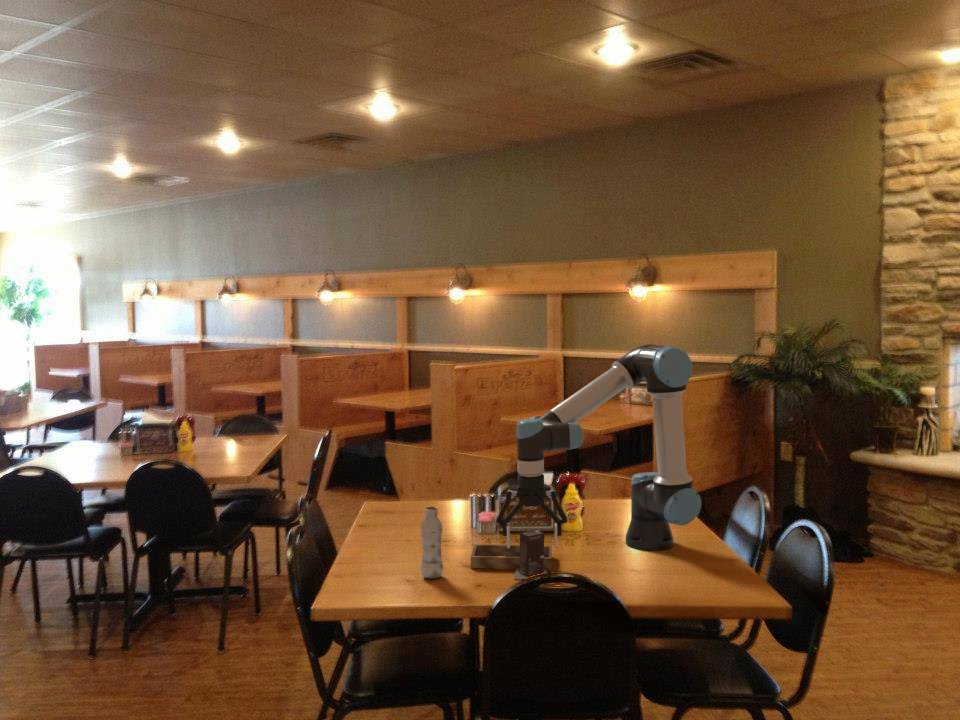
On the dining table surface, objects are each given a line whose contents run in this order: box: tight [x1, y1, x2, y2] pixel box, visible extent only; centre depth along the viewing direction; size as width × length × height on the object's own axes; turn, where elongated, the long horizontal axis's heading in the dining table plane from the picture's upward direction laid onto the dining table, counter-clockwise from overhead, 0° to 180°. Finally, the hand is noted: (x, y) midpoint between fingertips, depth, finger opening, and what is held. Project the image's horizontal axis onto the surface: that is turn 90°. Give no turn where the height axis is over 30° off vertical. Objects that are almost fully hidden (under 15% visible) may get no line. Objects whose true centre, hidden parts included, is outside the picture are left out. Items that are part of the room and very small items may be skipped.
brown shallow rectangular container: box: [470, 543, 553, 571], centre depth 260 cm, size 24×13×4 cm, turn 85°
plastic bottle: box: [420, 506, 444, 580], centre depth 247 cm, size 6×7×20 cm
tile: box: [514, 568, 548, 581], centre depth 249 cm, size 9×9×1 cm
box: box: [519, 529, 545, 577], centre depth 249 cm, size 6×4×12 cm
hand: (532, 546), depth 249 cm, fingers open, 13 cm apart
